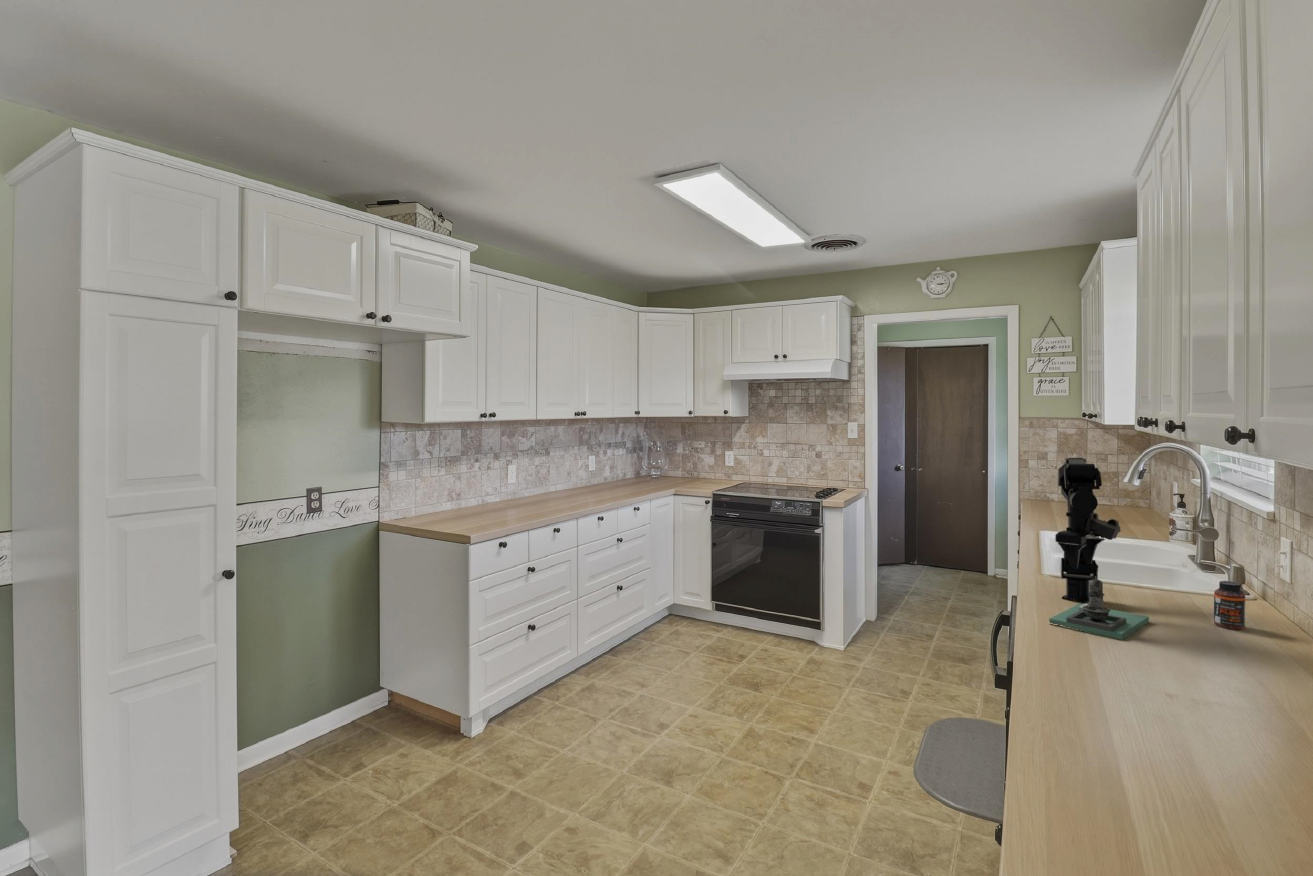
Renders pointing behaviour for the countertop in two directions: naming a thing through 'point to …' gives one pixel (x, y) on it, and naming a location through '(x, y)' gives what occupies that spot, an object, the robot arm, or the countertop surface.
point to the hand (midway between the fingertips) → (1082, 566)
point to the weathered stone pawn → (1096, 603)
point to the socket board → (1117, 628)
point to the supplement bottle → (1229, 606)
